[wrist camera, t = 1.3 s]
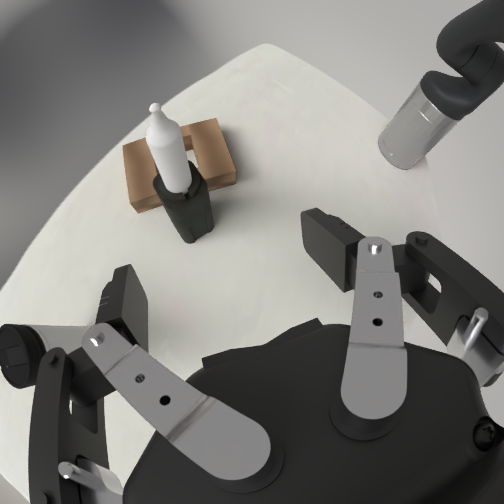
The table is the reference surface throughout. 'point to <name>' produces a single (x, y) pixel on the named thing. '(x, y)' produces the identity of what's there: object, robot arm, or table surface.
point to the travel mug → (33, 349)
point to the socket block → (194, 137)
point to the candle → (178, 179)
